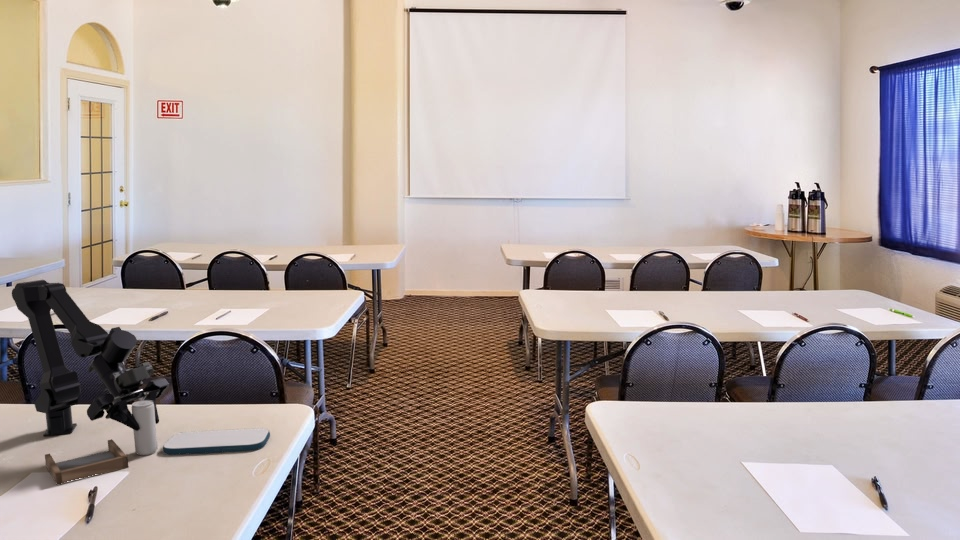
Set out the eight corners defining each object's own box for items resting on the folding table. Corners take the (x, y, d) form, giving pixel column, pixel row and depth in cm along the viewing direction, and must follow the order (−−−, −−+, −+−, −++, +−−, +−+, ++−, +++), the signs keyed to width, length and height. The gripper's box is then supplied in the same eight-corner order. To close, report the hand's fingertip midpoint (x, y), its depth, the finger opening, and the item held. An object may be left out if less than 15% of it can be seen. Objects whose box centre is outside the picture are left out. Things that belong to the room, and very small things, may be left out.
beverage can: (149, 456, 168) (145, 406, 167) (130, 455, 169) (126, 405, 168) (162, 448, 173) (158, 400, 171) (144, 447, 174) (140, 399, 172)
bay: (45, 465, 165) (44, 454, 164) (113, 449, 173) (112, 439, 173) (57, 485, 154) (56, 473, 154) (128, 467, 163) (127, 456, 162)
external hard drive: (272, 435, 182) (272, 427, 182) (262, 452, 171) (262, 444, 171) (175, 439, 180) (175, 431, 180) (159, 457, 169) (158, 449, 169)
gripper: (90, 363, 162) (126, 418, 158) (161, 345, 178) (196, 394, 174) (71, 393, 166) (106, 447, 163) (142, 372, 183) (175, 421, 179)
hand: (148, 426), depth 170 cm, fingers closed on beverage can, 5 cm apart
